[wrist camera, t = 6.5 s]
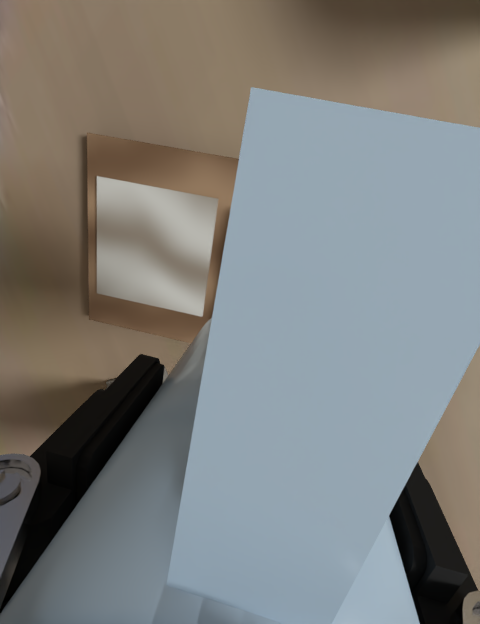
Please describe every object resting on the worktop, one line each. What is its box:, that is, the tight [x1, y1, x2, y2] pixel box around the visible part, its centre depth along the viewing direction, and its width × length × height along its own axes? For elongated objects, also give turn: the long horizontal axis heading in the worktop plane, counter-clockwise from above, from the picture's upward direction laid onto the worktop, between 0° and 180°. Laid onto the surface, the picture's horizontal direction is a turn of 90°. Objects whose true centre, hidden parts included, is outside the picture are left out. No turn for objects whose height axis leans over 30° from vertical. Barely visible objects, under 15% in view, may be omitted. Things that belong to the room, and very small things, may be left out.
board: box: [87, 133, 239, 343], centre depth 27 cm, size 16×26×2 cm, turn 80°
